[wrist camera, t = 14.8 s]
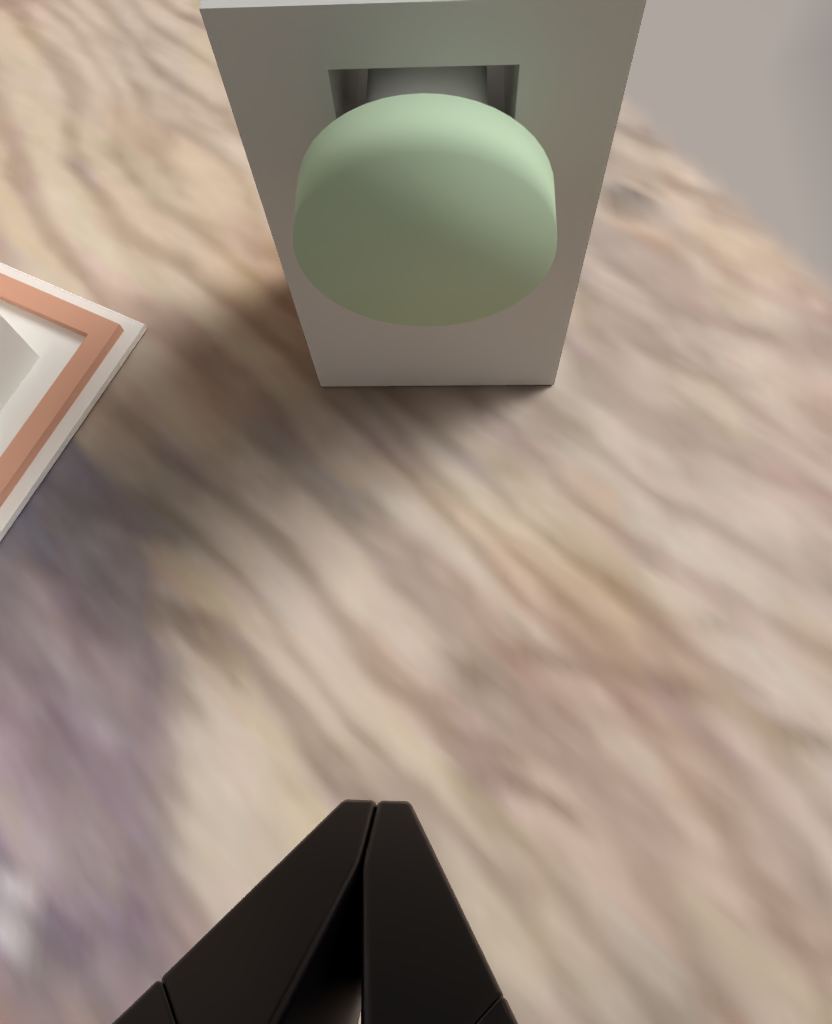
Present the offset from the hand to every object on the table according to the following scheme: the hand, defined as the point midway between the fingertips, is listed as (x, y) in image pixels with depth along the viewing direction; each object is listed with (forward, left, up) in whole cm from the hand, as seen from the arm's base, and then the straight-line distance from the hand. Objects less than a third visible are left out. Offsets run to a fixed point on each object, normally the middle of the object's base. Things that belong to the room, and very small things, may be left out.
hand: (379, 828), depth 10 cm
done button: (+11, +5, -2) cm, 12 cm away
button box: (+11, +5, -8) cm, 15 cm away
